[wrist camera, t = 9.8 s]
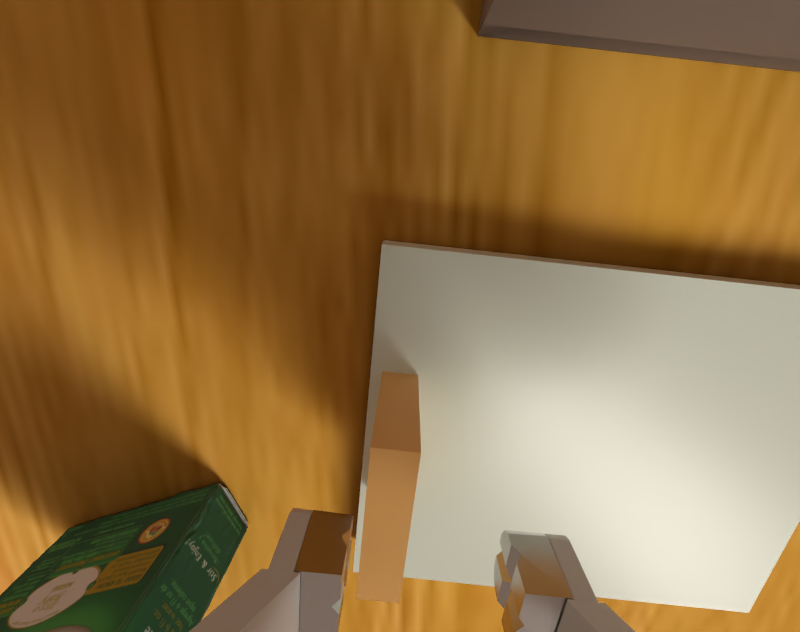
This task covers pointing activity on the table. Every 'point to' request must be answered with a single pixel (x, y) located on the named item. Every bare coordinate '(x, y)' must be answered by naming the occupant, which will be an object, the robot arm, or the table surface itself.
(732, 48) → the tub
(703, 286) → the lid
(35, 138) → the table surface
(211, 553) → the coffee box
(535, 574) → the robot arm
